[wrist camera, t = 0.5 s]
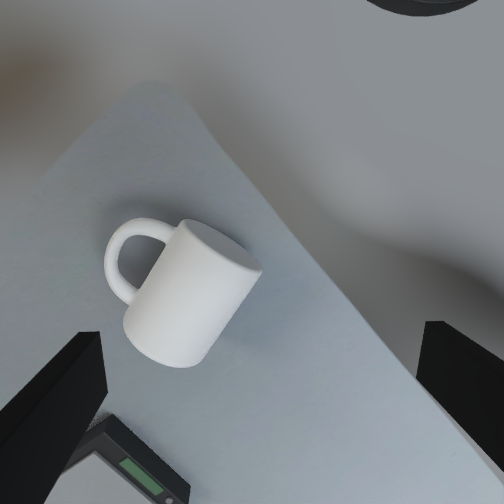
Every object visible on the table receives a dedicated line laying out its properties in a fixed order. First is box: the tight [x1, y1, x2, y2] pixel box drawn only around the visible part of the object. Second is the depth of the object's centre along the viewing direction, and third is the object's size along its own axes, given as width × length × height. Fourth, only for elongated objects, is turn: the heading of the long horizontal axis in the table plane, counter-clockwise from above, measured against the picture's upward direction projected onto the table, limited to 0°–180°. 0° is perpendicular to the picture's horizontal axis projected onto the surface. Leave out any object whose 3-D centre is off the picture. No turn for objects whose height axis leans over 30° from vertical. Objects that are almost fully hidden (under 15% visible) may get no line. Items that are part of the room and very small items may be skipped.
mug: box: [104, 218, 263, 368], centre depth 24 cm, size 12×10×8 cm
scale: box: [44, 414, 191, 504], centre depth 33 cm, size 14×14×3 cm
